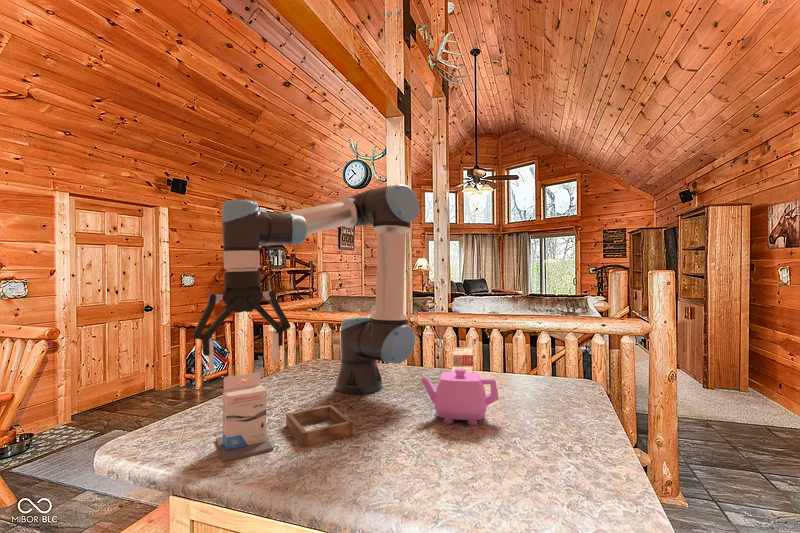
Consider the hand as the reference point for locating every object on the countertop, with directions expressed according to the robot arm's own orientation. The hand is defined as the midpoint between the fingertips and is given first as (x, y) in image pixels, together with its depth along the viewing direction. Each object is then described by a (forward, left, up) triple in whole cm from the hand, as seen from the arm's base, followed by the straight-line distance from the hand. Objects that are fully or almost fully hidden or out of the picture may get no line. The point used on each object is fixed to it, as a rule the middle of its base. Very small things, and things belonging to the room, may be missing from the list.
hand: (245, 365), depth 89 cm
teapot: (-51, +13, -18) cm, 55 cm away
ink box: (0, 0, -17) cm, 17 cm away
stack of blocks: (-65, -2, -18) cm, 67 cm away
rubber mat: (0, 0, -18) cm, 18 cm away
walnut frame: (-17, +1, -18) cm, 24 cm away
